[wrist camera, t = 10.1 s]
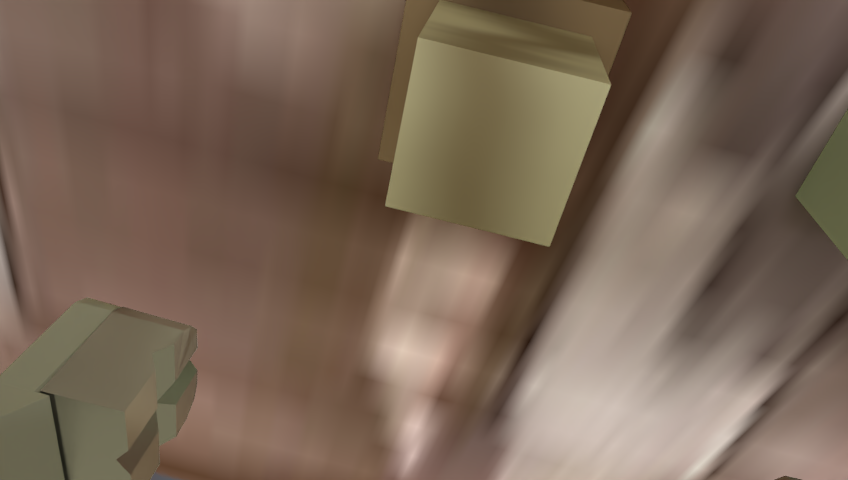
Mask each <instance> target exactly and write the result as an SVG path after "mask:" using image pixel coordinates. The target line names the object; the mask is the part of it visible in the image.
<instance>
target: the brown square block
mask: <svg viewBox="0 0 848 480" xmlns="http://www.w3.org/2000/svg"><path fill="white" fill-rule="evenodd" d="M444 1H448V2H452V3H456V4H460V5H464V6H468V7H473V8H477V9H481V10H485V11H489V12H493V13H497V14H501V15H505V16H509V17H513V18H517V19H521V20H526V21H530V22H534V23H538V24H542V25H546V26H550V27H554V28H558V29H562V30H566V31H570V32H574V33H578V34H583V35H587V36H591V37H592V38H593V41H594V43H595V46H596V48H597V51H598V53H599V56H600V58H601V61H602V63H603V66H604V68H605V71H606V73H607V76H608V75H609V72H610V70H611V67H612V64H613V62H614V59H615V56H616V54H617V51H618V48H619V46H620V43H621V40H622V38H623V35H624V32H625V30H626V27H627V24H628V22H629V19H630V16H631V14H632V12H631V11H630V10H629V8H628V7H627V5H626V4H625V3H624V1H623V0H444ZM438 2H439V0H406V4H405V9H404V15H403V21H402V26H401V32H400V37H399V43H398V48H397V54H396V60H395V65H394V71H393V76H392V82H391V88H390V93H389V99H388V104H387V110H386V115H385V121H384V127H383V132H382V138H381V143H380V149H379V155H378V159H379V160H383V161H387V162H391V163H393V162H394V157H395V152H396V147H397V142H398V137H399V131H400V126H401V121H402V116H403V111H404V106H405V101H406V96H407V91H408V85H409V80H410V75H411V70H412V65H413V60H414V55H415V50H416V44H417V39H418V36H419V34H420V33H421V31H422V29H423V28H424V26H425V24H426V23H427V21H428V19H429V17H430V16H431V14H432V12H433V11H434V9H435V7H436V6H437V4H438Z"/></svg>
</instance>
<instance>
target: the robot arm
mask: <svg viewBox="0 0 848 480" xmlns="http://www.w3.org/2000/svg"><path fill="white" fill-rule="evenodd" d="M197 348H198V346H197V329H195V328H194V327H192V326H190V325H186V324H183V323H179V322H176V321H172V320H169V319H165V318H161V317H158V316H154V315H151V314H147V313H144V312H140V311H136V310H133V309H129V308H126V307H119V306H116V305H112V304H109V303H105V302H102V301H98V300H95V299H91V298H84V299H82V300H79V301H77V302H75V303H74V304H73V305H72V306H71V307H70V308H68V309H67V310H66V311H65V312H64V313H63V314H62V315H61V316H60V317H59V318H58V319H57V320H56V321H55V322H54V323H53V324H52V325H51V326H50V327H49V328H48V329H47V330H46V331H45V332H44V333H43V334H42V335H41V336H40V337H39V338H38V339H37V340H36V341H35V342H34V343H33V344H31V345H30V346H29V347H28V348H27V349H26V350H25V351H24V352H23V353H22V354H21V355H20V356H19V357H18V358H17V359H16V360H15V361H14V362H13V363H12V364H11V365H10V366H9V367H8V368H7V369H6V370H5V371H4V372H3V373H2V374H1V375H0V480H150V479H151V477H152V475H153V474H154V472H155V471H156V469H157V467H158V466H159V464H160V454H159V446H160V445H162V444H163V443H165V442H167V441H169V440H171V439H173V438H174V437H176V436H177V434H178V433H179V431H180V429H181V427H182V426H183V424H184V422H185V421H186V419H187V416H188V414H189V411H190V408H191V406H192V403H193V401H194V397H195V392H196V387H197V369H196V368H195V367H194V365H193V364H192V363H191V361H190V358H191V357H192V355H193V354H194V352H195V351H196V349H197ZM775 480H801V479H797V478H792V477H788V476H783V477H780V478H778V479H775Z"/></svg>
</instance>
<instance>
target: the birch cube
mask: <svg viewBox="0 0 848 480" xmlns="http://www.w3.org/2000/svg"><path fill="white" fill-rule="evenodd" d="M610 87H611V83H610V80H609V78H608V76H607V73H606V71H605V68H604V66H603V63H602V61H601V58H600V56H599V53H598V51H597V48H596V46H595V43H594V41H593V38H592V37H591V36H587V35H583V34H578V33H574V32H570V31H566V30H562V29H558V28H554V27H550V26H546V25H542V24H538V23H534V22H530V21H526V20H521V19H517V18H513V17H509V16H505V15H501V14H497V13H493V12H489V11H485V10H481V9H477V8H473V7H468V6H464V5H460V4H456V3H452V2H448V1H444V0H439V2H438V4H437V6H436V7H435V9H434V11H433V12H432V14H431V16H430V17H429V19H428V21H427V23H426V24H425V26H424V28H423V29H422V31H421V33H420V34H419V36H418V39H417V44H416V50H415V55H414V60H413V65H412V70H411V75H410V80H409V85H408V91H407V96H406V101H405V106H404V111H403V116H402V121H401V126H400V131H399V137H398V142H397V147H396V152H395V157H394V162H393V167H392V172H391V178H390V183H389V188H388V193H387V198H386V203H385V206H387V207H391V208H395V209H399V210H403V211H407V212H411V213H415V214H419V215H423V216H427V217H431V218H435V219H439V220H443V221H447V222H451V223H455V224H459V225H463V226H467V227H472V228H476V229H480V230H484V231H488V232H492V233H496V234H500V235H504V236H508V237H512V238H516V239H520V240H524V241H528V242H532V243H536V244H540V245H544V246H548V247H550V244H551V242H552V239H553V236H554V234H555V231H556V229H557V226H558V223H559V221H560V218H561V215H562V213H563V210H564V208H565V205H566V202H567V200H568V197H569V194H570V192H571V189H572V186H573V184H574V181H575V179H576V176H577V173H578V171H579V168H580V165H581V163H582V160H583V158H584V155H585V152H586V150H587V147H588V144H589V142H590V139H591V137H592V134H593V131H594V129H595V126H596V123H597V121H598V118H599V115H600V113H601V110H602V108H603V105H604V102H605V100H606V97H607V94H608V92H609V89H610Z"/></svg>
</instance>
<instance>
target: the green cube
mask: <svg viewBox="0 0 848 480" xmlns="http://www.w3.org/2000/svg"><path fill="white" fill-rule="evenodd" d="M795 197H796V198H797V199H798V200H799V201H800V203H801V204H802V205H803V206H804V208H805V209H806V210H807V211H808V212H809V214H810V215H811V216H812V217H813V219H814V220H815V221H816V222H817V223H818V225H819V226H820V227H821V228H822V229H823V231H824V232H825V233H826V234H827V236H828V237H829V238H830V239H831V240H832V242H833V243H834V244H835V245H836V247H837V248H838V249H839V250H840V251H841V253H842V254H843V255H844V256H845V258H846V259H847V260H848V109H847V111H846V112H845V114H844V116H843V117H842V119H841V121H840V122H839V124H838V126H837V127H836V129H835V131H834V132H833V134H832V136H831V137H830V139H829V141H828V142H827V144H826V146H825V147H824V149H823V151H822V152H821V154H820V156H819V157H818V159H817V161H816V162H815V164H814V166H813V167H812V169H811V171H810V172H809V174H808V176H807V177H806V179H805V181H804V182H803V184H802V186H801V187H800V189H799V191H798V192H797V194H796V196H795Z"/></svg>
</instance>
